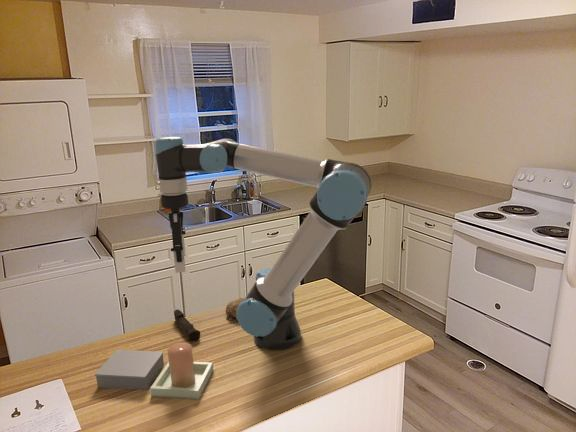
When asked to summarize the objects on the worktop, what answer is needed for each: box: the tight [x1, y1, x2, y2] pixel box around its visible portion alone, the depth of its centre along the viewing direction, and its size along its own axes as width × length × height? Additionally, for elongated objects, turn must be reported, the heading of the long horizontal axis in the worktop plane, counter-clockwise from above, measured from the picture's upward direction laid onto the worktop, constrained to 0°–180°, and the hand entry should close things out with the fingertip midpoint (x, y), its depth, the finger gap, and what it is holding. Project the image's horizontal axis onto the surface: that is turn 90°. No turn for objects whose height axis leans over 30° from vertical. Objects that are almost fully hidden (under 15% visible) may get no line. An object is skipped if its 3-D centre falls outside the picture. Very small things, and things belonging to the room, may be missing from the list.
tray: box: [149, 361, 214, 400], centre depth 126 cm, size 13×13×2 cm
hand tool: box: [173, 309, 201, 344], centre depth 155 cm, size 19×4×5 cm, turn 29°
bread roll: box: [225, 297, 245, 322], centre depth 164 cm, size 10×10×8 cm
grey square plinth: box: [94, 349, 165, 391], centre depth 130 cm, size 14×12×4 cm
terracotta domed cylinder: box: [167, 341, 195, 388], centre depth 125 cm, size 6×6×10 cm
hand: (180, 263), depth 135 cm, fingers open, 13 cm apart
